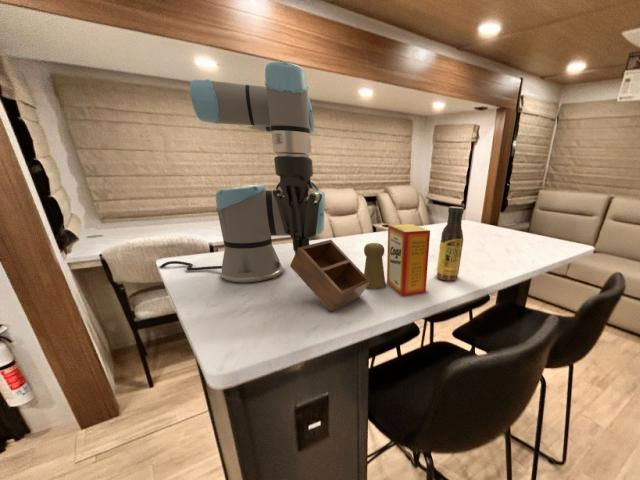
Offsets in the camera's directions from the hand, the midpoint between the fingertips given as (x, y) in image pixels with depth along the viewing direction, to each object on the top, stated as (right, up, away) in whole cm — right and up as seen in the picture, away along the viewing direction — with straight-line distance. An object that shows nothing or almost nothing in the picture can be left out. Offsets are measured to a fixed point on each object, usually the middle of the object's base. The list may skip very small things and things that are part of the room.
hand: (303, 265), depth 73 cm
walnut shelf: (+6, -4, -2) cm, 8 cm away
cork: (+16, -4, +9) cm, 19 cm away
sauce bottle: (+37, -2, +16) cm, 40 cm away
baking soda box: (+25, -5, +8) cm, 26 cm away
